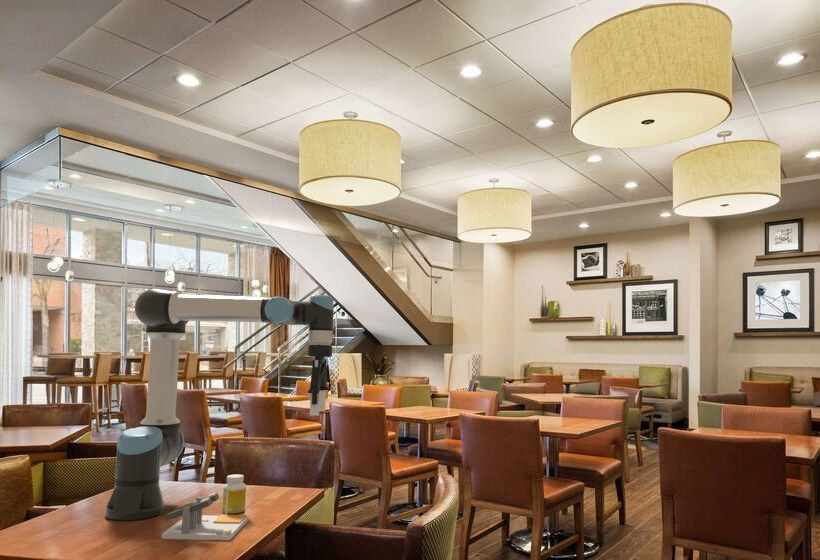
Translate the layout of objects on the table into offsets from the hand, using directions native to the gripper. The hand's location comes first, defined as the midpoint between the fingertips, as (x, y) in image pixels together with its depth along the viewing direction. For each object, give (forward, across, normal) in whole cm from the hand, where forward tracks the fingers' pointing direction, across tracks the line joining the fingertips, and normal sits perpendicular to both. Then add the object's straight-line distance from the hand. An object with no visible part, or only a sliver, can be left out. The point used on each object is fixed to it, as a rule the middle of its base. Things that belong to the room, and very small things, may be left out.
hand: (317, 413), depth 189 cm
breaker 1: (+21, -32, +27) cm, 47 cm away
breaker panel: (+28, -26, +24) cm, 45 cm away
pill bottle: (+28, -13, +21) cm, 37 cm away
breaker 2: (+21, -27, +27) cm, 44 cm away
